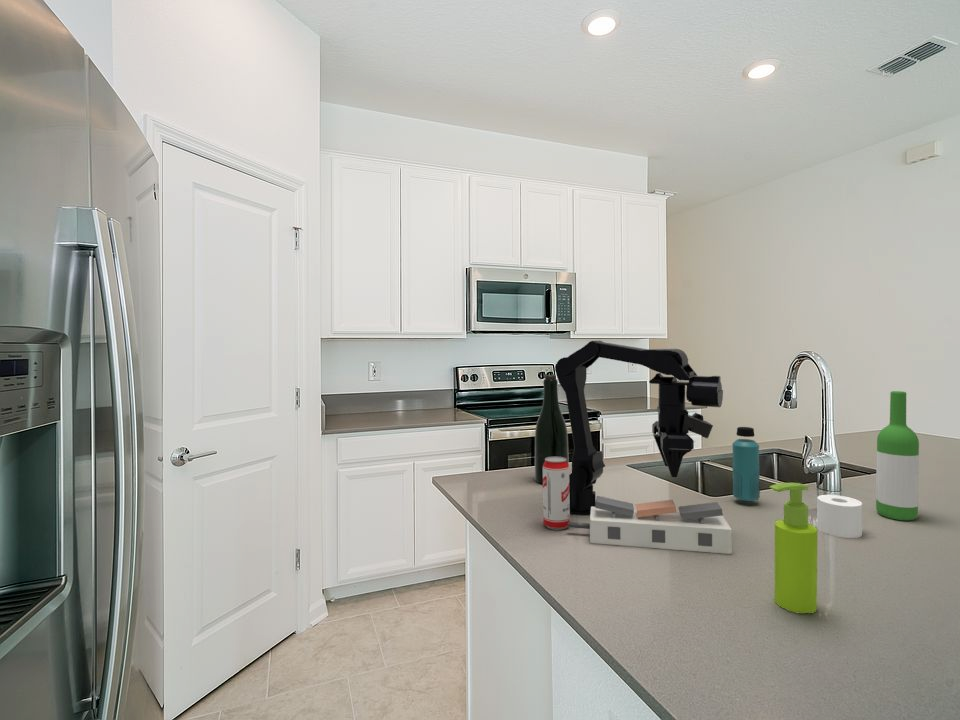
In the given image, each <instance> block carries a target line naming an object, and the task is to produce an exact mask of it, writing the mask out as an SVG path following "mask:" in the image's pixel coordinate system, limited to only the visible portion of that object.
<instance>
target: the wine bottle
mask: <svg viewBox="0 0 960 720" xmlns="http://www.w3.org/2000/svg"><path fill="white" fill-rule="evenodd" d="M889 394H890V397H889V398H890V399H889V400H890V403H889V424H888V425H886V426H885V427H883V428H882V429H881V430H880V431H879V432H878V435H877V439H876V472H875V473H876V478H875V479H876V482H875V483H876V484H875V499H876V500H875V509H876V512H877V513H878V514H879V515H880V516H882V517H884V518H888V519H891V520H897V521H905V522H906V521H914V520H916V519H917V517H918V514H919V482H920V481H919V474H920V473H919V472H920V469H919V468H920V460H919V459H920V442H919V437H918V436H917V434H916V433H915V432H914V430H913V429H912V428H910V427H908V425H907V392H906V391H900V390H894V391H893V390H892V391H890V393H889Z"/></svg>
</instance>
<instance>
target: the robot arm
mask: <svg viewBox="0 0 960 720" xmlns="http://www.w3.org/2000/svg"><path fill="white" fill-rule="evenodd" d="M599 358H602V359H607V360H613V361H619V362H624V363H630V364H635V365H639V366H643V367H646V368H648V369H650V370H652V371H655V372H657V373H655V375H654V377H652V378H651V379H650V380H648V381H649V384H650V385H651V384H654V385H658V406H656V412H657V413H658V414H657V415H658V417H657V418H658V419H657V420H656V421H654V422H653V423H652V426H651V427H652V430H651V431H652V436H653V438H654V440H655V443H656V446H657V448H658V450H659V451H658V452H659V454H660V456H661V459H662V461H663V464H664V466H665V467H667V468H668V471H669V473H670V476H671V477H672V478H678V475H679V471H680V468H681V464H682V461H683V458H684V456H685V455H687V454H688V453H691V452H692V450H694V446H695V445H694V442H695V441H694V439H693V438H692V437H691V436H690V435H689V432H690V433H693V434H696V435H699V436H701V437H702V438H705V439H709V437H710V435H711V432H712V429H713V427H714V425H713V424H712V423H710V422H709V421H707V420H704V416H703V415H702V414H701V413H697V412H695V413H692V415H689V411H688V409H686V400H687V401H688V403H690V404H691V405H692V406H696V407H697V406H698V407H708V408H709V407H711V408H721V407H722V405H723V398H724V390H723V385H722V381H721V378H722V377H721V376H720V375H711V376H709V375H708V376H706V375H704V376H703V375H698V374H697V373H696V371H695V370H694V368H693V367H692V366H691V365H690V364H689V359H688V355H687V354H686V353H685V351H684V350H682V349H679V348H656V349H655V348H653V349H652V348H651V349H650V348H649V349H646V348H641V347H636V346H629V345H623V344H617V343H611V342H604V341H602V340H591V341H588V343H586V344H585V345H584V346H583V347H581V348H579V349H578V350H576V351H574V352H573V353H572V354H570V355H568V356H567V357H562V358H560V359H558V361H557V362H556V363H555V366H554V372H555V374H556V375H555V376H556V379H557V381H558V384H559V385H560V387H561V388H562V390H563V392H564V393H565V398H566V403H567V410H568V416H569V423H570V428H571V429H570V430H571V434H572V441H573V454H572V458H571V472H570V473H569V492H570V514H578V515H590V514H591V507H595V505H596V497H597V494H596V491H595V490H594V485H595V484H596V482H597V481H598V479H599V478H601V476H602V475H603V473H604V468H605V467H606V465H605V462H604V458H603V457H604V453H603V451H602V450H599V451H597V450H596V447H595V446H594V444H593V438H592V432H591V431H592V430H591V426H590V420H589V414H588V407H587V402H586V395H585V387H586V383H587V369H589V367H591V366H593V364H594V363H596V362H597V360H599ZM664 375H665V376H664Z"/></svg>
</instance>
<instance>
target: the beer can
mask: <svg viewBox="0 0 960 720" xmlns="http://www.w3.org/2000/svg"><path fill="white" fill-rule="evenodd" d="M569 475H570V465H568V463H567V459H566V458H564V457H557V456H553V457H547V458H545V462H544V464H543V484H542V515H543V516H542V517H543V519H542V520H543V521H542V522H543V524H544V525H545V526H546V527H547V528H548V530H549V529H550V530H555V531H560V530H562V531H563V530H565V529H567V528H569V527H568V522H571V513H570V492H569Z"/></svg>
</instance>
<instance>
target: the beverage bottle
mask: <svg viewBox="0 0 960 720" xmlns="http://www.w3.org/2000/svg"><path fill="white" fill-rule="evenodd" d="M736 436H738V437H745V438H739V439H738V438H737V439H735V441H733V442H732V443H731V444H732V467H731V469H732V470H731V472H732V479H731V480H732V483H731V486H732V488H731V490H732V495H733V498H736V499H738V500H742V501H748V502H751V501H752V502H754V501H758V500H759V499H760V493H761V481H760V477H761V473H760V471H761V470H760V444H759V443H758V442H756V440H754V439H748V438H750V437H751V438H753V437H755V430H754V428H753V427H750V426H749V427H748V426H739V427H737V428H736Z"/></svg>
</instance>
